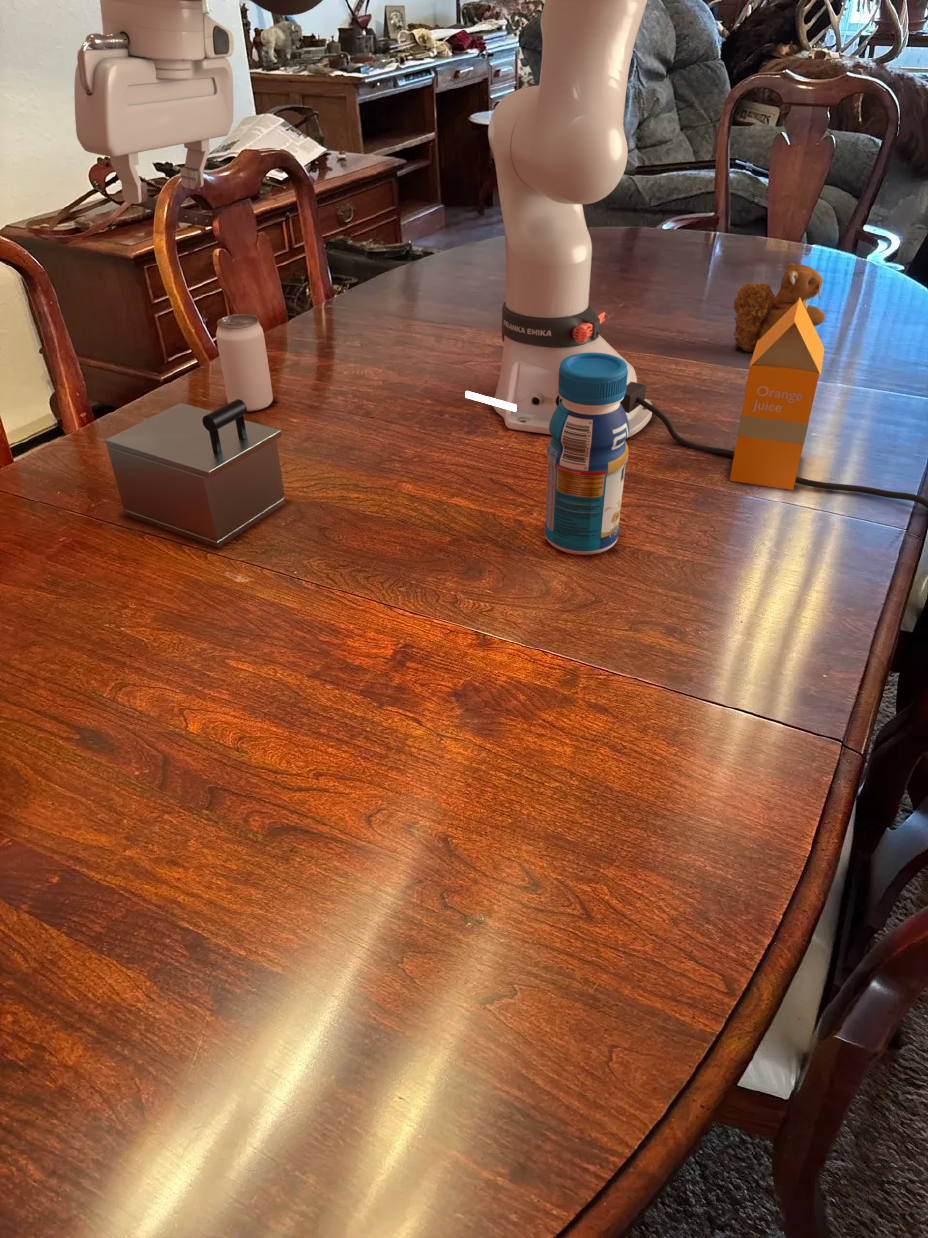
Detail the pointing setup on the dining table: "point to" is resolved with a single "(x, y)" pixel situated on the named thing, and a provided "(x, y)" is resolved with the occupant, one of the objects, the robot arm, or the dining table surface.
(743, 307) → the stuffed squirrel
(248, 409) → the can
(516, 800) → the dining table surface
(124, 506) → the open metal box
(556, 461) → the beverage bottle
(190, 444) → the lid
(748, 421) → the orange juice
